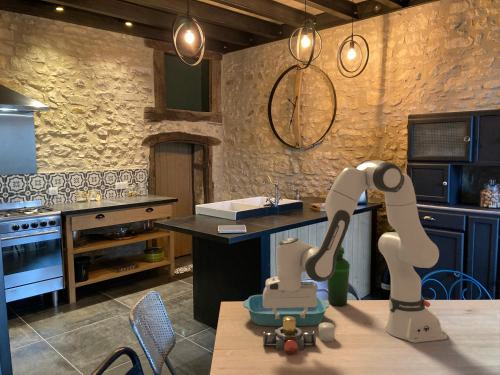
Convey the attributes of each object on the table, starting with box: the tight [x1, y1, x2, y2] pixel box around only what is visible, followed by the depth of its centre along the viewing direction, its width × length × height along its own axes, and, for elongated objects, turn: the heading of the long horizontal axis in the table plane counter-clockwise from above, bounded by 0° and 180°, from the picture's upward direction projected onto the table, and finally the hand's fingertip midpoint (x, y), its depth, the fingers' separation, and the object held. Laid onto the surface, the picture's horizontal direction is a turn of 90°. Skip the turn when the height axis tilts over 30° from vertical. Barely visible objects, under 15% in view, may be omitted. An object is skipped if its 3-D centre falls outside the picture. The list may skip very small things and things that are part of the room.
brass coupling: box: [282, 316, 297, 335], centre depth 148 cm, size 5×5×6 cm
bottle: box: [327, 244, 351, 307], centre depth 188 cm, size 11×11×28 cm
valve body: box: [262, 326, 317, 356], centre depth 147 cm, size 19×12×5 cm, turn 90°
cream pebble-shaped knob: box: [318, 322, 336, 343], centre depth 154 cm, size 6×6×5 cm
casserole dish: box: [242, 294, 330, 327], centre depth 173 cm, size 37×22×7 cm, turn 91°
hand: (290, 318), depth 148 cm, fingers open, 8 cm apart
